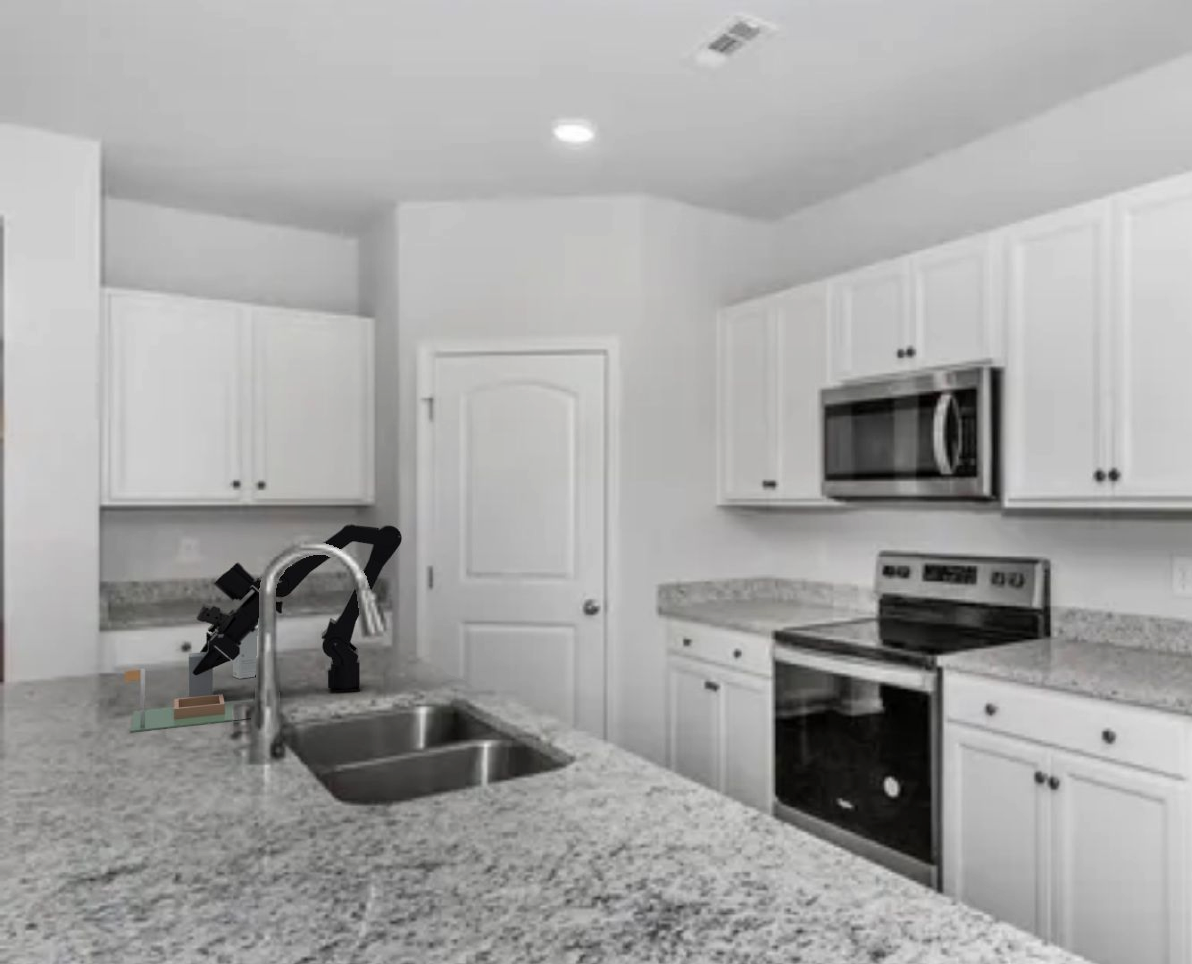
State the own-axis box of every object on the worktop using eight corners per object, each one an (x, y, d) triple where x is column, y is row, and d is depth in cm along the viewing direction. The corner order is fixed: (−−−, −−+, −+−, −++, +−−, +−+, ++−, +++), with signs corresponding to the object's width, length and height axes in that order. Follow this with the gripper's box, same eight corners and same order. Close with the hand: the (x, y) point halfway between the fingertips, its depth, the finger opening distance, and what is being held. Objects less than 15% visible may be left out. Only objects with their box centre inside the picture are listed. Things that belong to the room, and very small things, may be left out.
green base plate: (259, 699, 190) (259, 647, 190) (266, 717, 175) (266, 660, 175) (128, 713, 179) (128, 657, 179) (124, 732, 164) (124, 672, 165)
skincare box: (239, 679, 210) (239, 628, 210) (232, 676, 213) (231, 626, 213) (264, 675, 214) (264, 625, 214) (257, 672, 217) (257, 623, 217)
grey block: (211, 697, 192) (211, 651, 192) (212, 701, 188) (212, 655, 188) (188, 699, 190) (188, 653, 190) (189, 704, 186) (189, 657, 186)
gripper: (218, 586, 199) (164, 638, 195) (222, 595, 183) (163, 653, 178) (255, 618, 203) (203, 671, 198) (263, 630, 186) (206, 688, 181)
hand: (193, 670), depth 189 cm, fingers open, 8 cm apart
